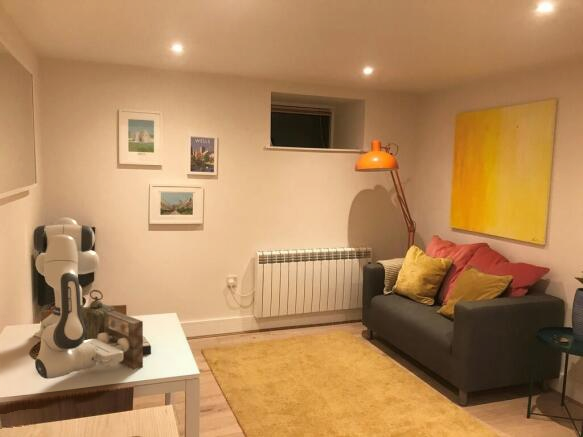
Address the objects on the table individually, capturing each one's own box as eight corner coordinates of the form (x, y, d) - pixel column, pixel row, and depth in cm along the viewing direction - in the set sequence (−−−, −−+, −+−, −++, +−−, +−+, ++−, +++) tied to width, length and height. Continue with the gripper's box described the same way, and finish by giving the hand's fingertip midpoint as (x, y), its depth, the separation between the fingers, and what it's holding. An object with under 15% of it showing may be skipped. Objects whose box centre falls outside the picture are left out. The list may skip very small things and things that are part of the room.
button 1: (104, 348, 186) (104, 335, 185) (97, 344, 189) (97, 332, 189) (120, 343, 191) (119, 331, 191) (113, 340, 194) (112, 328, 194)
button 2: (124, 354, 181) (124, 340, 180) (117, 350, 184) (117, 337, 183) (140, 349, 186) (140, 336, 185) (132, 346, 189) (132, 333, 189)
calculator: (144, 334, 211) (151, 344, 198) (144, 344, 212) (151, 354, 198) (117, 338, 206) (123, 347, 193) (118, 347, 207) (123, 358, 193)
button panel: (132, 370, 182) (132, 323, 180) (104, 356, 194) (104, 313, 192) (142, 366, 185) (142, 321, 183) (114, 353, 198) (114, 310, 196)
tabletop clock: (117, 347, 204) (116, 290, 202) (100, 354, 196) (100, 294, 193) (91, 342, 210) (91, 286, 208) (74, 348, 202) (74, 290, 199)
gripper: (100, 354, 165) (136, 344, 175) (71, 340, 177) (106, 331, 188) (101, 372, 165) (136, 361, 176) (72, 357, 178) (106, 347, 189)
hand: (120, 345), depth 182 cm, fingers closed, pressing on button 2
